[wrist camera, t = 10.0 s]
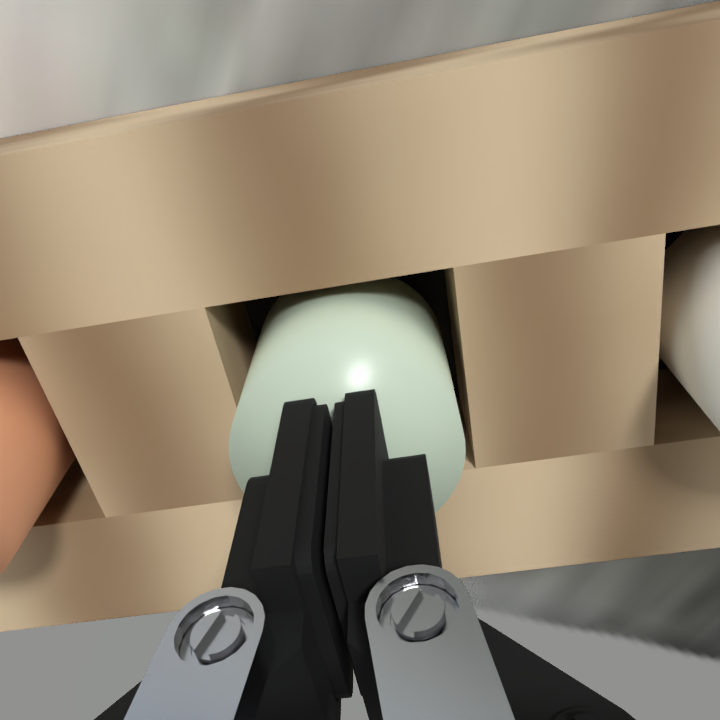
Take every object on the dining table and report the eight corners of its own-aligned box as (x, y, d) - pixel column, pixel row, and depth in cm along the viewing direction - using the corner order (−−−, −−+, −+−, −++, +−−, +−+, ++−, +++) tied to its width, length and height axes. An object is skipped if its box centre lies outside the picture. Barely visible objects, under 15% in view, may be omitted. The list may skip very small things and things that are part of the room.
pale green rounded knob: (431, 252, 14) (453, 335, 11) (452, 415, 16) (475, 528, 13) (238, 284, 15) (198, 373, 11) (282, 439, 17) (261, 555, 13)
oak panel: (1071, -67, 12) (1261, -84, 10) (919, 438, 18) (1013, 513, 16) (-329, 201, 15) (-475, 244, 12) (-73, 565, 21) (-137, 647, 18)
